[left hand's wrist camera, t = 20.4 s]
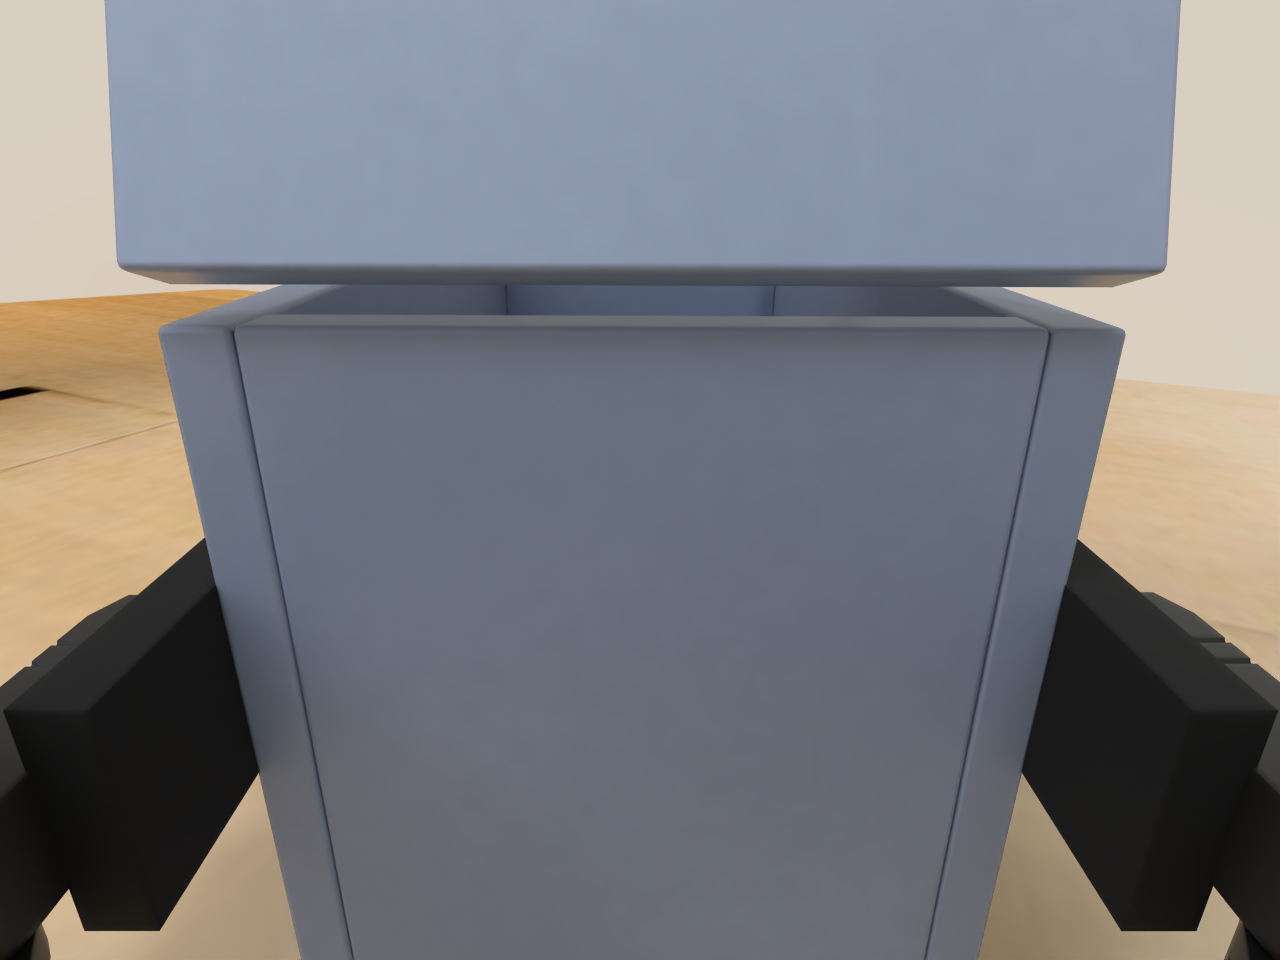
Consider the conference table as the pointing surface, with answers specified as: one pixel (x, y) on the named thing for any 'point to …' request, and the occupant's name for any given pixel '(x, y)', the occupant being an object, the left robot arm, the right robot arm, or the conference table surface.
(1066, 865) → the conference table surface
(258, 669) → the chest
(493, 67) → the lid
